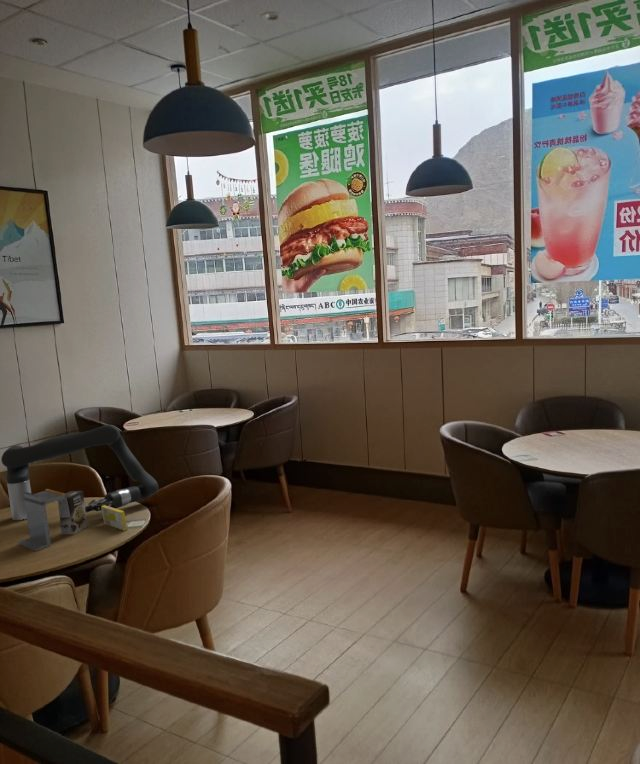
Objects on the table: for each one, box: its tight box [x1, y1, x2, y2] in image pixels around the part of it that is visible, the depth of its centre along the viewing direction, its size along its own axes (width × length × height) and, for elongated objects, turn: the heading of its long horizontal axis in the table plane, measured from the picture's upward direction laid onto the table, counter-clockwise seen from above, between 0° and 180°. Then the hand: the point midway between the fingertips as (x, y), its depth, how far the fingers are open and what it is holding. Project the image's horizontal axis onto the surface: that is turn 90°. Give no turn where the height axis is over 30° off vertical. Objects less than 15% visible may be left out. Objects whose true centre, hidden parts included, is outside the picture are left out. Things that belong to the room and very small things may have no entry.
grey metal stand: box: [17, 488, 66, 552], centre depth 250 cm, size 14×15×20 cm
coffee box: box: [57, 490, 88, 536], centre depth 260 cm, size 9×6×16 cm
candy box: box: [101, 505, 128, 532], centre depth 261 cm, size 16×2×8 cm, turn 49°
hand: (82, 510), depth 264 cm, fingers closed
